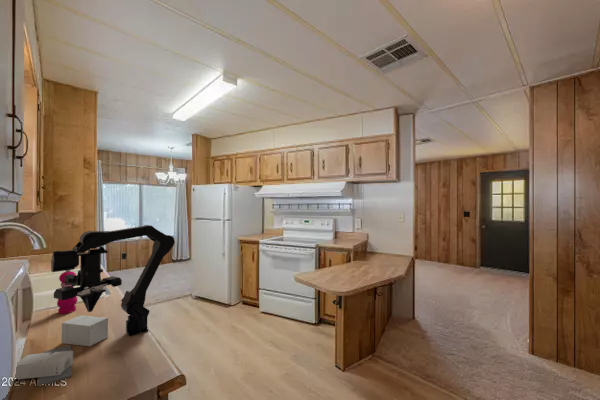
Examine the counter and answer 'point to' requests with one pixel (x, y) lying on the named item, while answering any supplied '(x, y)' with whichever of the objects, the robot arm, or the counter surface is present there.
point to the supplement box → (84, 330)
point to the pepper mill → (67, 304)
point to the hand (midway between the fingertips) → (89, 311)
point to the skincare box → (43, 364)
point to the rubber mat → (59, 377)
